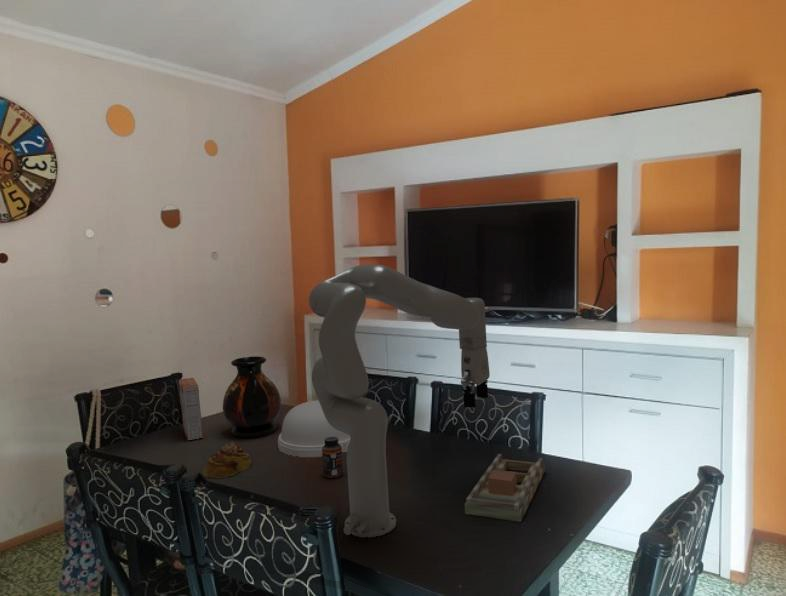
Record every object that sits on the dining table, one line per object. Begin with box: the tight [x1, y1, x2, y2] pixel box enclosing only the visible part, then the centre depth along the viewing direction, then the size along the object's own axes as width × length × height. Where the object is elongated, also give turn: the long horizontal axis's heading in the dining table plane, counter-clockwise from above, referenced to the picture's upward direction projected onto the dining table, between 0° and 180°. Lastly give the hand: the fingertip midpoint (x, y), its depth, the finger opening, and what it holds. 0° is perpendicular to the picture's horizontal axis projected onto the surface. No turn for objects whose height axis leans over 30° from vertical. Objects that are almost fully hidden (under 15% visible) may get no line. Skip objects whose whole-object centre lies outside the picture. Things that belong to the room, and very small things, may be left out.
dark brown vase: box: [222, 355, 282, 439], centre depth 222 cm, size 22×22×28 cm
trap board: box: [464, 453, 546, 523], centre depth 159 cm, size 32×14×4 cm, turn 156°
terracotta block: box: [488, 470, 518, 496], centre depth 154 cm, size 6×6×4 cm
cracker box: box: [178, 377, 204, 441], centre depth 222 cm, size 14×6×21 cm, turn 25°
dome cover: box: [277, 399, 350, 458], centre depth 207 cm, size 32×30×14 cm
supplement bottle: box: [321, 437, 344, 479], centre depth 176 cm, size 6×6×11 cm
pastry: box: [201, 442, 253, 478], centre depth 186 cm, size 13×15×8 cm
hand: (476, 402), depth 166 cm, fingers open, 9 cm apart
